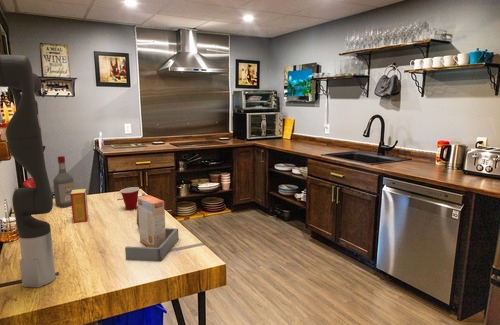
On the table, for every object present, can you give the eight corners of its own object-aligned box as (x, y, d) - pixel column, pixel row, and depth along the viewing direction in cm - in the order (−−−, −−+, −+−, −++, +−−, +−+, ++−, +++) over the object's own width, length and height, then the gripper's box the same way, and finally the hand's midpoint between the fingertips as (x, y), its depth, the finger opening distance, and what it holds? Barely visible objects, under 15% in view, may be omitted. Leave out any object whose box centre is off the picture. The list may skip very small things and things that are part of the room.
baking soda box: (75, 217, 186) (72, 189, 183) (88, 216, 188) (85, 187, 185) (73, 223, 177) (70, 193, 174) (87, 221, 179) (84, 192, 176)
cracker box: (167, 248, 146) (165, 200, 142) (154, 252, 142) (151, 203, 138) (152, 238, 156) (149, 194, 153) (139, 242, 152) (136, 196, 149)
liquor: (77, 204, 210) (72, 156, 205) (62, 208, 202) (57, 158, 197) (68, 202, 215) (64, 155, 210) (54, 206, 207) (49, 157, 202)
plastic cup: (119, 207, 203) (118, 188, 201) (138, 205, 208) (137, 186, 206) (122, 212, 194) (121, 192, 192) (142, 209, 199) (141, 189, 197)
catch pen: (160, 261, 134) (160, 249, 133) (125, 259, 135) (125, 247, 134) (178, 239, 156) (178, 228, 155) (148, 237, 157) (147, 227, 156)
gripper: (25, 127, 125) (30, 174, 127) (50, 125, 138) (54, 168, 140) (6, 127, 125) (11, 174, 128) (32, 125, 138) (37, 167, 141)
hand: (34, 170), depth 134 cm, fingers closed
